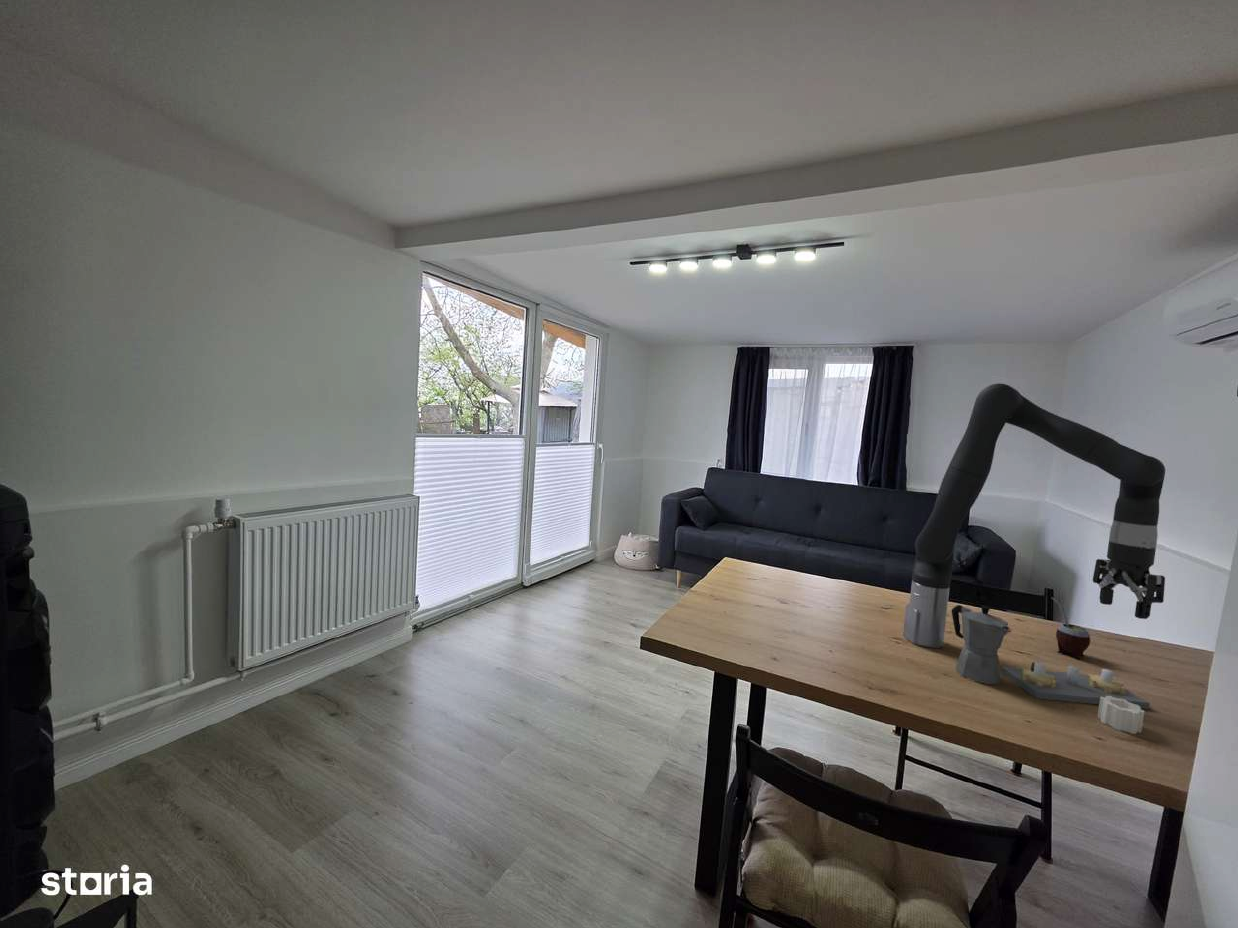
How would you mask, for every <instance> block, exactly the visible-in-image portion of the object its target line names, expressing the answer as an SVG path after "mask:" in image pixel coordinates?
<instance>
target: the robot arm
mask: <svg viewBox="0 0 1238 928" xmlns="http://www.w3.org/2000/svg"><path fill="white" fill-rule="evenodd" d="M1006 423H1007V424H1008V425H1011V426H1015V427H1017V428H1021V429H1023V430H1025V431H1027V432H1029V433H1031V434H1033V435H1036V436H1038V437H1039V438H1041V439H1043V440H1045V441H1046V442H1048V443H1050V444H1051V445H1053V446H1055V447H1056V448H1058V449H1060V450H1062V451H1064V452H1065V453H1068V454H1069V455H1072V456H1074V457H1075V458H1077V459H1078V460H1079V459H1080V460H1082V461H1084V462H1086V463H1088V464H1091V465H1092V466H1095V467H1097V468H1099V469H1100V470H1102V471H1104V472H1105V473H1107V474H1108V475H1110V476H1112V477H1114V478H1117V479H1118V480H1120V483H1119V491H1118V497H1117V499H1116V501H1115V505H1114V511H1113V518H1112V519H1113V520H1112V524H1111V526H1110V531H1109V537H1108V545H1107V551H1106V552H1107V554H1106V558H1107V559H1104V558H1103V559H1102V558H1101V559H1098V558H1097V559H1096V560H1095V565H1094V571H1093V576H1092V582H1093V583H1094V584H1097V585H1098V586H1099V588H1100V591H1099V603H1100V604H1102V605H1108V606H1111V605H1112V604H1113V601H1114V600H1113V599H1114V594H1115V593H1114V591H1115V590H1114V588H1115V587H1117V586H1118V585H1123V586H1124V587H1126V588H1129V590H1130V592H1132V593H1133V594H1134V595H1135V597H1136V599H1137V601H1136V604H1135V612H1134V616H1135V618H1137V619H1141V620H1142V619H1144V620H1146V619H1148V618H1150V616H1151V610H1152V604H1155V603H1156V604H1157V603H1158V604H1162V603H1164V599H1165V598H1164V597H1165V586H1166V585H1165V583H1166V577H1165V576H1164V575H1159V574H1152V573H1151V572H1150V567H1152V566H1154V564H1155V557H1156V550H1157V541H1158V535H1159V534H1158V523H1159V515H1160V499H1161V494H1162V492H1163V491H1162V490H1163V486H1164V481H1165V475H1166V467H1165V465H1164V463H1163V462H1162V461H1161V460H1159V459H1158V458H1156V457H1154V456H1150V455H1147V454H1144V453H1142V452H1140V451H1138V450H1135V449H1134V448H1131V447H1128V446H1126V445H1123V444H1121V443H1119V442H1118V441H1117V440H1115V439H1113V438H1112V437H1109V436H1107V435H1105V434H1104V433H1102V432H1099V431H1097V430H1094V429H1092V428H1090V427H1088V426H1086V425H1083V424H1081V423H1078V422H1076V421H1073V420H1070V419H1068V418H1064V417H1062V416H1059V415H1057V414H1054V413H1053V412H1051V411H1050V412H1049V411H1048V410H1046V409H1044V408H1042V407H1040V406H1038V405H1037V404H1035V403H1034V402H1032V401H1031V400H1029V399H1028V398H1026V397H1025V396H1024V395H1022V394H1021V393H1020V392H1019V391H1018V389H1016V388H1014V386H1013V387H1012V386H1011V385H1008V384H1006V383H1000V382H999V383H993V384H989V385H987V386H986V387H984V388H982V390H981V391H980V392H979V393H978V395H977V397H976V398H975V401H974V404H973V408H972V411H971V415H970V418H969V421H968V423H967V424H968V425H967V426H966V430H965V432H964V434H963V436H962V438H961V440H960V442H959V444H958V445H957V448H956V450H955V452H954V454H953V456H952V458H951V460H950V462H949V464H948V466H947V469H946V471H945V473H944V474H943V475H944V476H943V478H942V481H941V483H940V487H939V489H938V492H937V495H936V500H935V502H934V507H933V510H932V512H931V514H930V516H929V518H928V519H927V522H925V525H924V527H923V528H922V530H921V531H920V533H919V534H918V535H917V537H916V539H915V542H914V549H915V558H914V559H915V560H914V566H913V571H912V577H911V587H910V588H911V589H910V595H909V596H910V597H909V603H908V604H906V605H905V612H904V613H905V614H904V624H903V631H902V635H903V636H904V638H906V640H908V641H909V642H911V644H913V645H918V646H922V647H925V648H926V647H927V648H933V649H935V648H937V649H940V648H942V647H943V646H944V640H945V631H946V623H947V614H948V612H947V611H948V605H949V595H950V587H951V579H952V575H953V574H952V573H953V565H954V556H955V548H956V547H955V546H956V545H955V543H956V541H957V537H958V535H959V531H960V529H961V526H962V524H963V521H964V519H965V518H966V516H967V514H968V513H969V511H971V509H972V507H973V506H974V504H975V502H976V501H977V499H978V498H979V495H980V493H981V492H982V490H983V487H984V486H985V484H986V481H987V479H988V477H989V474H990V473H991V469H992V465H993V460H994V455H995V448H996V444H997V441H998V439H999V436H1000V434H1001V432H1002V431H1003V429H1004V426H1005V424H1006Z"/></svg>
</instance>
